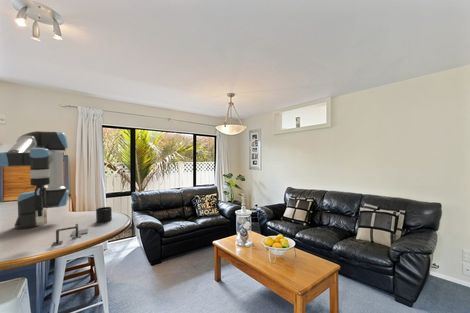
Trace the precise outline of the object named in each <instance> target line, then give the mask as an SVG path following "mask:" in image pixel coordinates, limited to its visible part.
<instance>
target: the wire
mask: <svg viewBox="0 0 470 313" xmlns="http://www.w3.org/2000/svg"><path fill="white" fill-rule="evenodd" d="M73 229H75V231H76V235H73V236H71V239H72V240H73V239H78V238H82V235H81V234H79V235H78V230H79V224H78V223H76V224H75V226H70V227H64V228H58V229H57V230H55V241H54V242H52V244H51V246H52V247H53V246H59V245H63V243H64V240H60V232H61V231H67V230H73Z"/></svg>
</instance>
